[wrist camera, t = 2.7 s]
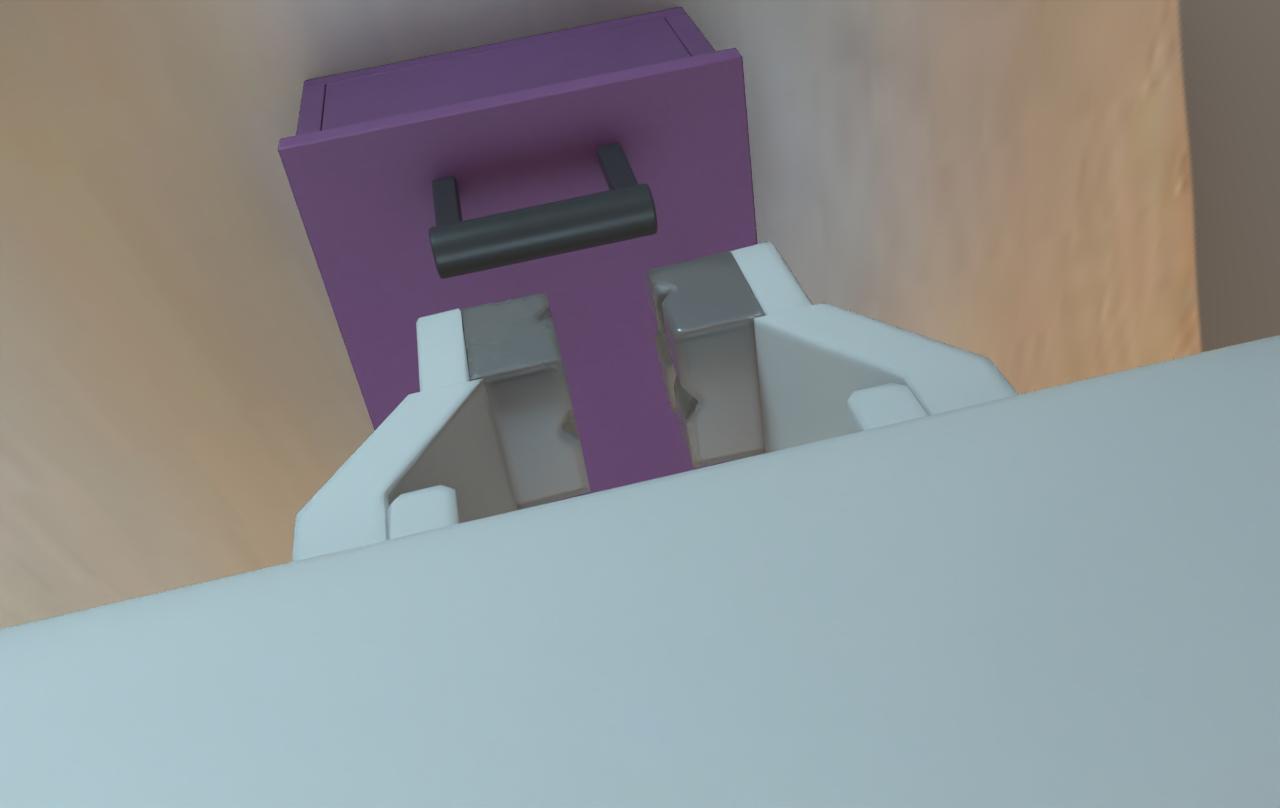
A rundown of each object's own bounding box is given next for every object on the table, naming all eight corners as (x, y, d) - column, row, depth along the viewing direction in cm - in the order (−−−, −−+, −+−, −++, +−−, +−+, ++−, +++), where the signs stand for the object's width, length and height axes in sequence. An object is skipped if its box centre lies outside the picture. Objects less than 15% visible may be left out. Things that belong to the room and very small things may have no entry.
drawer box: (303, 80, 40) (290, 169, 33) (681, 6, 41) (738, 78, 34) (420, 448, 49) (427, 570, 43) (723, 381, 50) (772, 491, 44)
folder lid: (279, 138, 33) (263, 220, 28) (735, 46, 34) (790, 112, 29) (427, 571, 43) (433, 682, 39) (773, 492, 44) (817, 590, 40)
